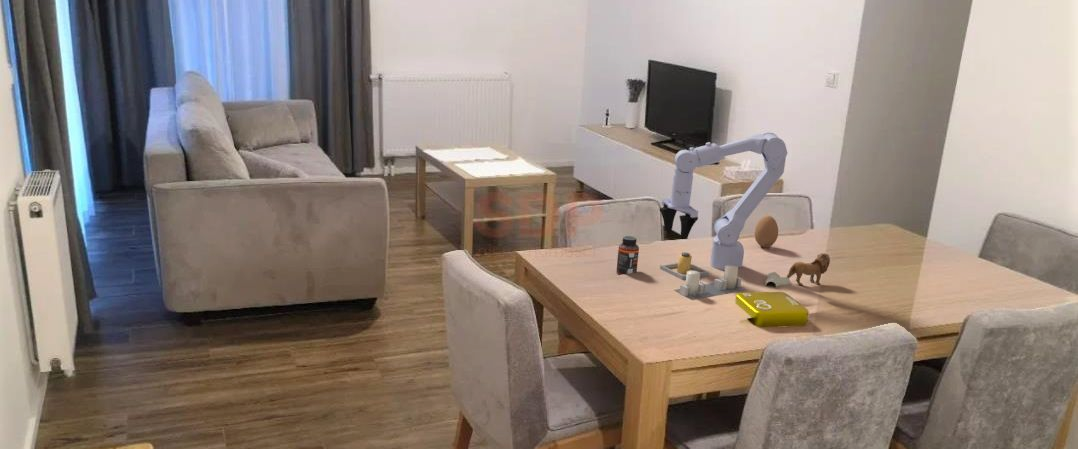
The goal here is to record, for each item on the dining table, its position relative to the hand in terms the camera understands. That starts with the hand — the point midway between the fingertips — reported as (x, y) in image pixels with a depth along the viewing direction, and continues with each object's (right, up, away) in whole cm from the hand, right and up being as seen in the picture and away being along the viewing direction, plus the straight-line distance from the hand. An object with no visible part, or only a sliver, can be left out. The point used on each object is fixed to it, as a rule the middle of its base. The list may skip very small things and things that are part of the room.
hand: (676, 234), depth 258 cm
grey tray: (+1, -12, -5) cm, 14 cm away
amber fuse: (+1, -12, -5) cm, 13 cm away
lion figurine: (+38, -15, -4) cm, 41 cm away
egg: (+34, -5, +29) cm, 45 cm away
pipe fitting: (+28, -16, -10) cm, 34 cm away
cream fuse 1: (+1, -16, -23) cm, 28 cm away
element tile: (+20, -22, -31) cm, 43 cm away
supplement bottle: (-16, -12, -6) cm, 21 cm away
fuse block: (+6, -17, -19) cm, 26 cm away
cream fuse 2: (+13, -15, -16) cm, 25 cm away
